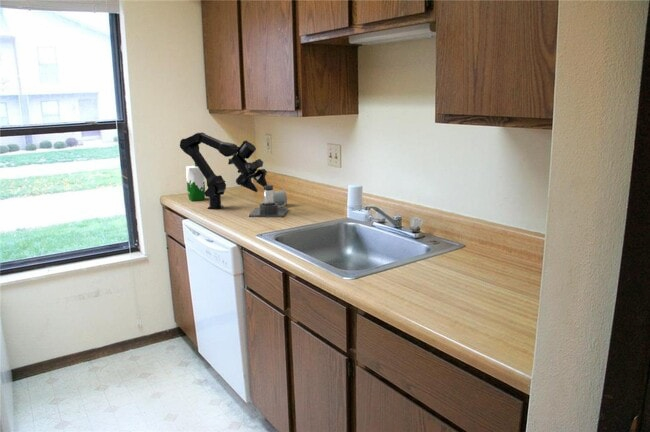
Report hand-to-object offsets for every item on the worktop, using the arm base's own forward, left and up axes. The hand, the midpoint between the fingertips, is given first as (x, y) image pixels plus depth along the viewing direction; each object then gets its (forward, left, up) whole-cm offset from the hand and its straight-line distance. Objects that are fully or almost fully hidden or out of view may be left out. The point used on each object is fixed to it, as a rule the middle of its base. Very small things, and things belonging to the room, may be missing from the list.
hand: (262, 190), depth 242 cm
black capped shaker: (+1, +3, -10) cm, 11 cm away
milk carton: (-32, -42, -11) cm, 54 cm away
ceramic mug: (-16, +5, -11) cm, 20 cm away
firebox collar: (+1, +3, -11) cm, 11 cm away
